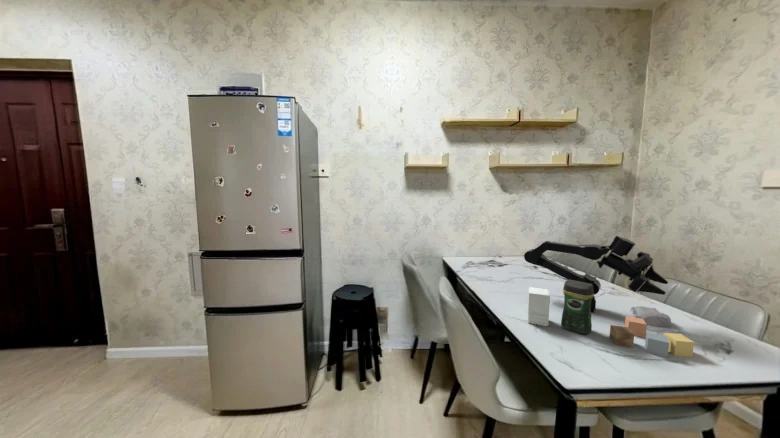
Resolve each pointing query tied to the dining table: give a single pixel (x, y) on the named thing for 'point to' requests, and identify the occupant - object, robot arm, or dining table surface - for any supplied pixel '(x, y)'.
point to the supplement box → (538, 306)
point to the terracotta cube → (636, 325)
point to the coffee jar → (577, 306)
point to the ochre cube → (680, 345)
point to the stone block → (651, 316)
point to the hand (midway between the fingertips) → (666, 288)
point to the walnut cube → (621, 336)
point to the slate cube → (657, 344)
